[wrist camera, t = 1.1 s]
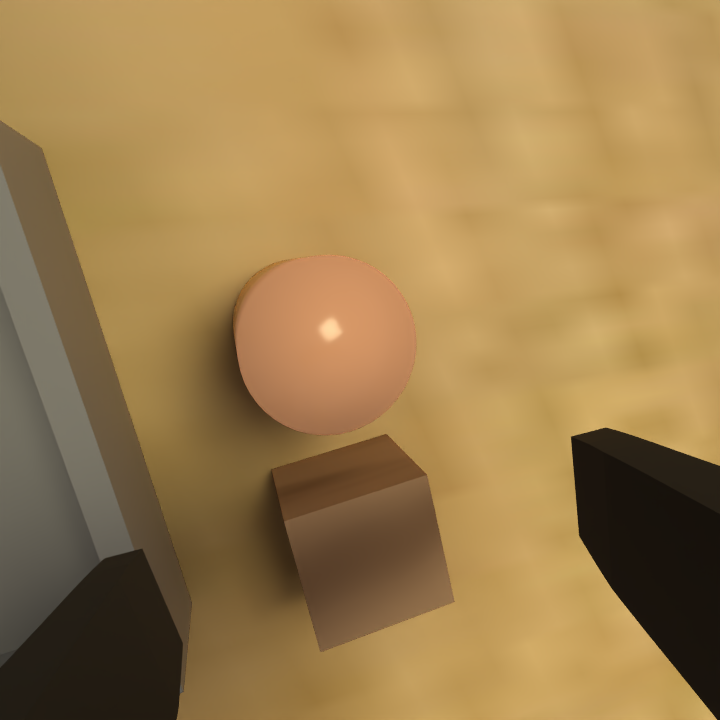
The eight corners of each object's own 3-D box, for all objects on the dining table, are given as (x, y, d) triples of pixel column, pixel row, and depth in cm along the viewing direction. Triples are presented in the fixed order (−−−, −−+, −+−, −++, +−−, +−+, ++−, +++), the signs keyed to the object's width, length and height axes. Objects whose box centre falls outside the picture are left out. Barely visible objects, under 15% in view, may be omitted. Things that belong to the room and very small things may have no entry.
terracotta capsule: (371, 367, 23) (431, 407, 16) (252, 400, 22) (264, 457, 15) (343, 246, 22) (396, 236, 15) (217, 275, 21) (214, 279, 14)
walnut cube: (409, 537, 25) (454, 601, 20) (301, 575, 24) (320, 652, 19) (385, 433, 24) (427, 475, 19) (271, 468, 23) (283, 521, 18)
